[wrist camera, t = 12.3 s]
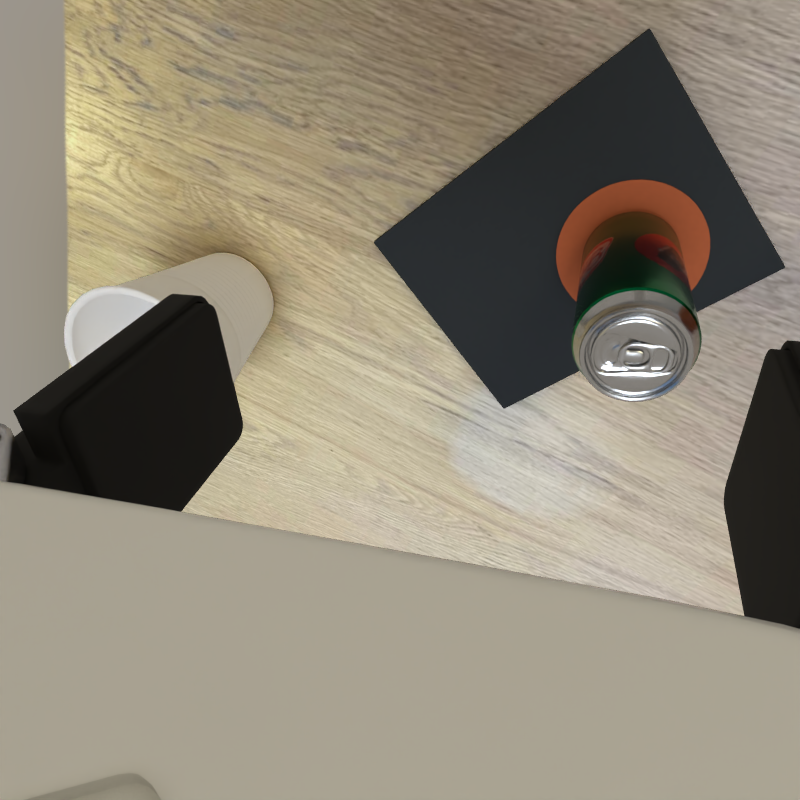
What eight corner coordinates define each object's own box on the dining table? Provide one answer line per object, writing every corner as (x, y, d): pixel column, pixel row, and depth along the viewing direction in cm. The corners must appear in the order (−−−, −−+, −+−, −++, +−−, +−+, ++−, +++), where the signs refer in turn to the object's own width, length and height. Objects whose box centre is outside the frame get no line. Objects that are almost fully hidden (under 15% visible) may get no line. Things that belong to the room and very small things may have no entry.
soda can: (590, 204, 34) (579, 291, 25) (690, 211, 33) (720, 306, 23) (576, 291, 37) (562, 400, 27) (668, 301, 36) (686, 418, 26)
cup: (148, 281, 46) (36, 352, 37) (220, 191, 40) (109, 249, 32) (248, 378, 48) (165, 467, 39) (329, 305, 43) (254, 389, 34)
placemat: (649, 28, 30) (649, 28, 29) (783, 264, 34) (786, 268, 33) (375, 240, 39) (372, 243, 39) (504, 405, 43) (503, 409, 43)
